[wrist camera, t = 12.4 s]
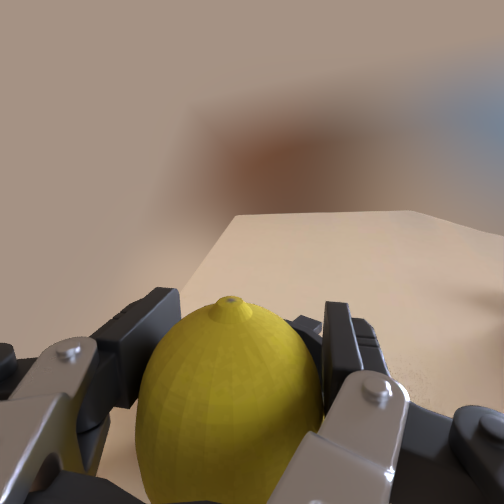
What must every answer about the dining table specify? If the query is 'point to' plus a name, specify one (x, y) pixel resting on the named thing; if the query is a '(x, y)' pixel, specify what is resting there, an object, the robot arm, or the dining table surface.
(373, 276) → the dining table surface
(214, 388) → the lemon
